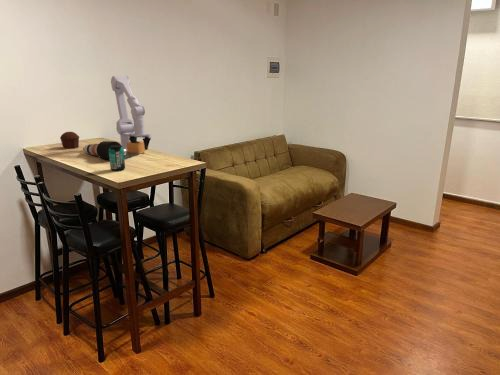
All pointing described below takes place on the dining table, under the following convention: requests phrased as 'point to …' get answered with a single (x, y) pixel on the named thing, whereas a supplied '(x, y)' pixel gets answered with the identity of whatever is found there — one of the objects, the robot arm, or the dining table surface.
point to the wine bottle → (100, 149)
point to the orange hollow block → (136, 147)
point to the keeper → (129, 154)
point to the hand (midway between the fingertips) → (140, 149)
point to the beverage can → (116, 158)
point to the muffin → (70, 140)
